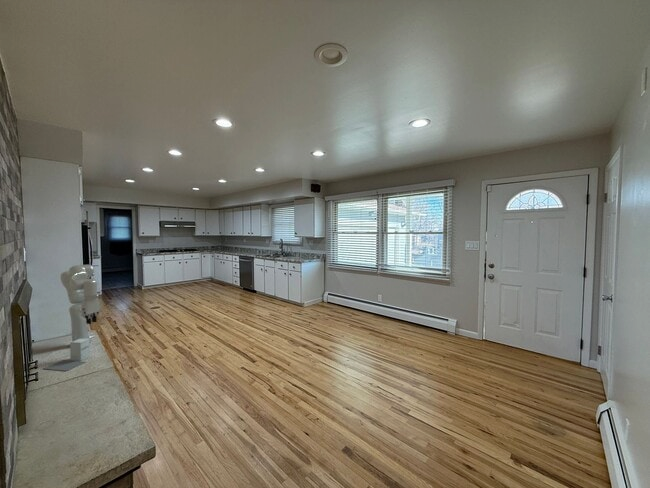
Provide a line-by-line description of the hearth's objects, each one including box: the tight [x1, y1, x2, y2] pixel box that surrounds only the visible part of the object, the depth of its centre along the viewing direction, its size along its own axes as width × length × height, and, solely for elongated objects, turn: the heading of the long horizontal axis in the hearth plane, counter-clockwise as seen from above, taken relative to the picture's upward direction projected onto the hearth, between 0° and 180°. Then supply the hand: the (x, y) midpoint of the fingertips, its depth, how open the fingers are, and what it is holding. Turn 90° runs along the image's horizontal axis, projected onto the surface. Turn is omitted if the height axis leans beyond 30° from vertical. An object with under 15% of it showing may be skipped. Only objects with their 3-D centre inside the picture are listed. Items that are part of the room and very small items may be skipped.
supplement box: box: [69, 339, 91, 362], centre depth 190 cm, size 7×7×13 cm
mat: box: [42, 359, 87, 372], centre depth 180 cm, size 12×18×1 cm, turn 80°
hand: (91, 322), depth 198 cm, fingers open, 3 cm apart
